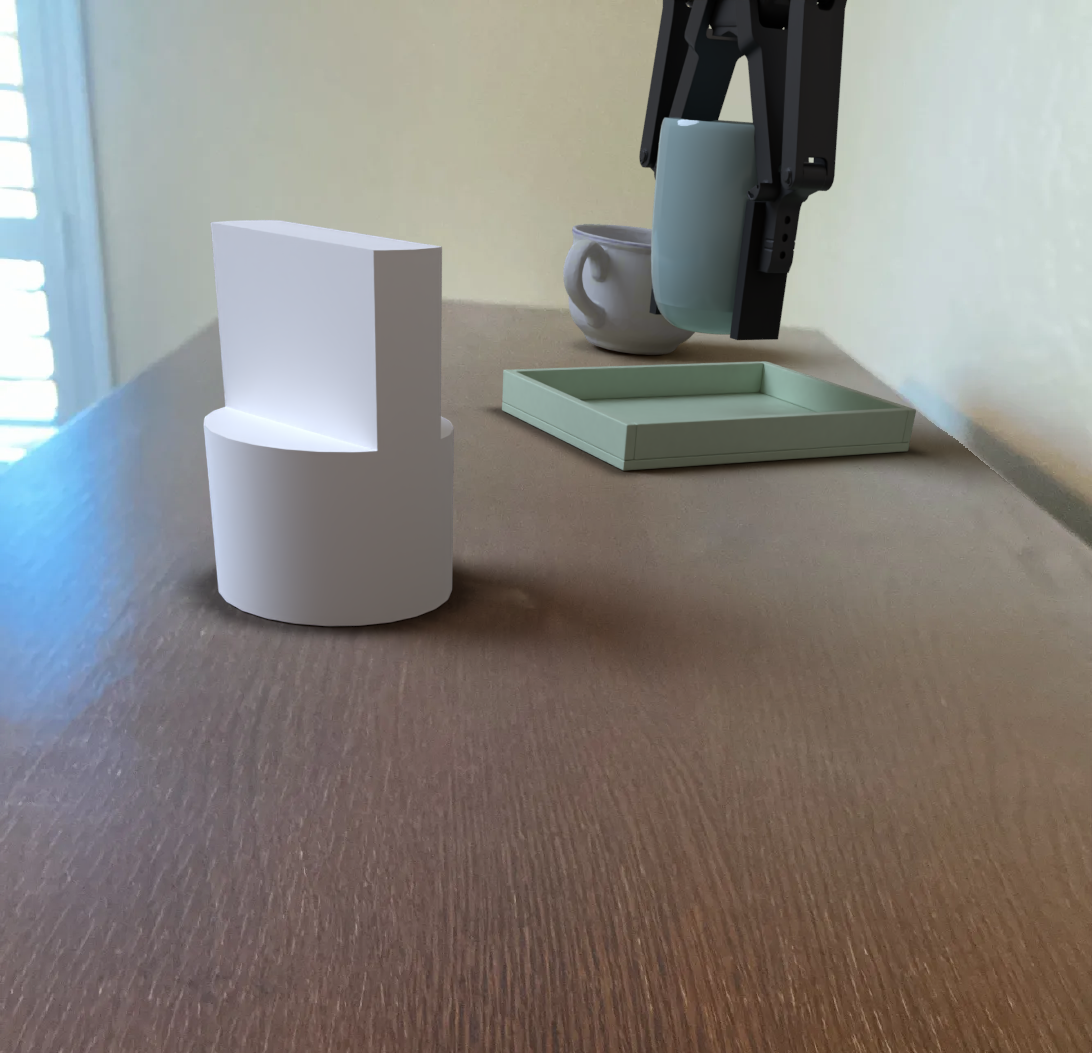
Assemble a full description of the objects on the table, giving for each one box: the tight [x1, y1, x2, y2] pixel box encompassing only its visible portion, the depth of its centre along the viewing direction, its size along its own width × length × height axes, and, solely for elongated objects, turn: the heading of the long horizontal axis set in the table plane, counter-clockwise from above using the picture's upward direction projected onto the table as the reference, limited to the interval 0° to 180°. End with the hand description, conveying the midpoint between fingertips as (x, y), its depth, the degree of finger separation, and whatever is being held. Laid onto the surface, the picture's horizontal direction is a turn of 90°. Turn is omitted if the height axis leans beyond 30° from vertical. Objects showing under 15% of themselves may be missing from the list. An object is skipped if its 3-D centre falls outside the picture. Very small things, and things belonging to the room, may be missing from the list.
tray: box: [501, 360, 917, 472], centre depth 77 cm, size 19×15×2 cm
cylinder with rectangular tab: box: [203, 219, 455, 627], centre depth 47 cm, size 9×9×12 cm
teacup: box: [562, 223, 696, 356], centre depth 98 cm, size 14×11×8 cm
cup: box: [651, 117, 781, 336], centre depth 72 cm, size 8×8×10 cm
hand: (711, 325), depth 75 cm, fingers closed on cup, 8 cm apart
